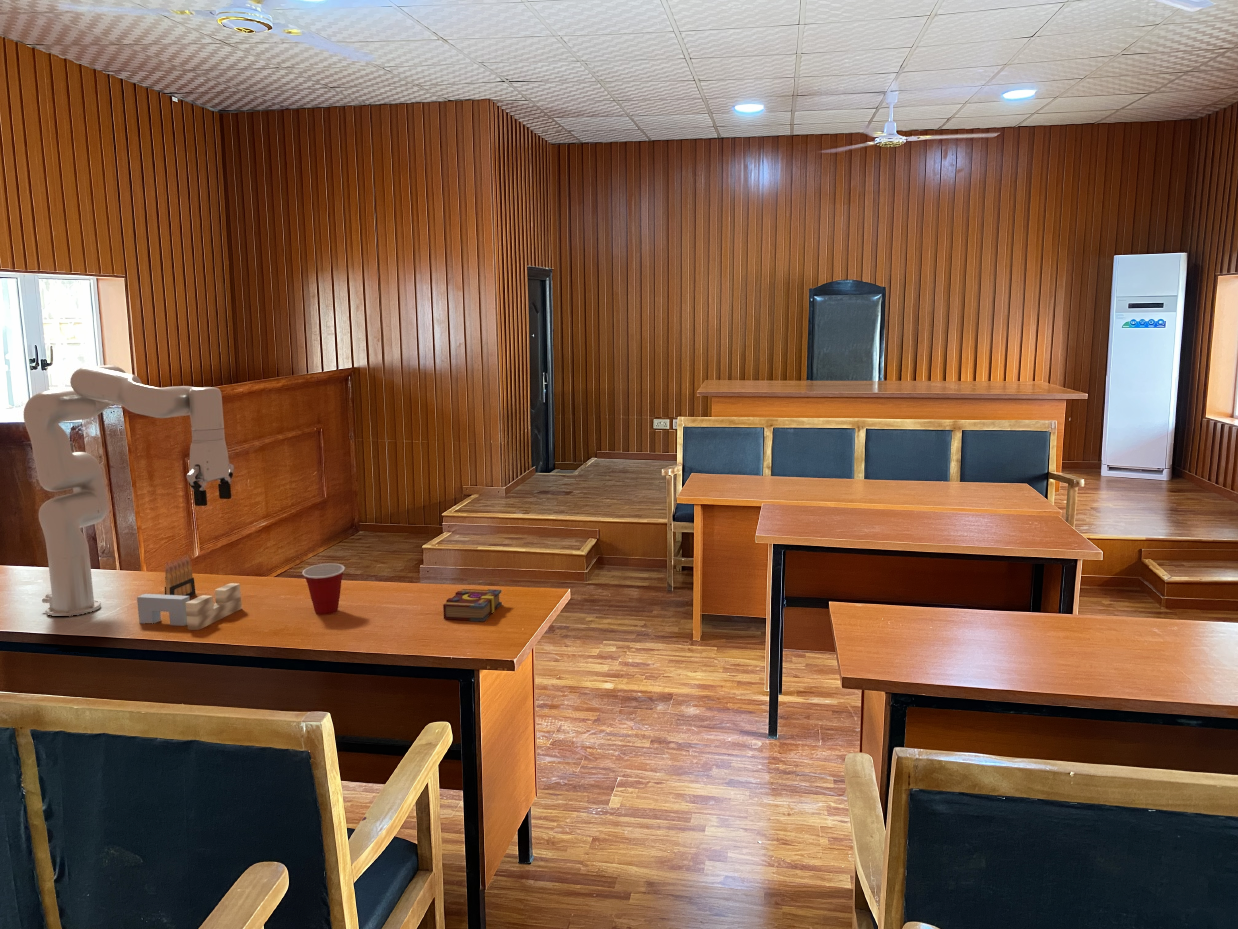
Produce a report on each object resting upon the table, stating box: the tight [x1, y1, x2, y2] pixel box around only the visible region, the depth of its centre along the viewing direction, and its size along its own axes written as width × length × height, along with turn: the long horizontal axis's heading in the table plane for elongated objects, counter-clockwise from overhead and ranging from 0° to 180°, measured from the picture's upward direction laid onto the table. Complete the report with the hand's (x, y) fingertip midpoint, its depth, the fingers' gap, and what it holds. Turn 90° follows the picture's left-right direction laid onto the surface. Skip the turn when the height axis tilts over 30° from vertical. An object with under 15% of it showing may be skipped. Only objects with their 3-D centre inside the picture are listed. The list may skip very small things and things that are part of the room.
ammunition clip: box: [164, 554, 196, 598], centre depth 246 cm, size 11×2×12 cm, turn 171°
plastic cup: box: [301, 562, 346, 616], centre depth 233 cm, size 11×11×12 cm
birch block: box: [186, 582, 243, 631], centre depth 228 cm, size 18×3×7 cm, turn 169°
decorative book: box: [442, 588, 502, 622], centre depth 233 cm, size 11×16×5 cm
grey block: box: [136, 593, 191, 627], centre depth 226 cm, size 13×3×7 cm, turn 79°
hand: (213, 502), depth 224 cm, fingers open, 9 cm apart
